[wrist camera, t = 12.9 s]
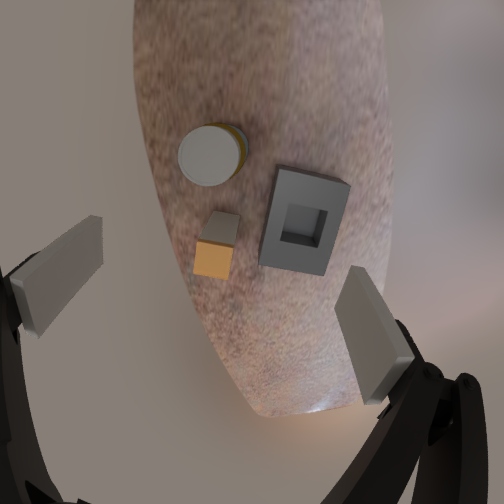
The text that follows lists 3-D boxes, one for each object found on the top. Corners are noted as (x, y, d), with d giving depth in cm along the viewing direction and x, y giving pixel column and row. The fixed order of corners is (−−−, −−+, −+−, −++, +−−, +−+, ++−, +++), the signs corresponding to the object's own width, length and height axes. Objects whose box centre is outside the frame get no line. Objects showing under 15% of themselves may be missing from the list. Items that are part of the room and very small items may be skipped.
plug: (213, 210, 45) (197, 241, 33) (240, 215, 45) (233, 248, 33) (209, 235, 47) (193, 273, 35) (235, 240, 47) (227, 280, 35)
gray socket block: (276, 164, 42) (279, 168, 37) (340, 179, 42) (350, 185, 37) (258, 249, 47) (258, 264, 42) (317, 260, 48) (323, 276, 43)
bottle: (232, 179, 43) (220, 203, 29) (193, 156, 42) (161, 169, 28) (257, 139, 40) (257, 144, 27) (216, 116, 39) (195, 109, 25)
